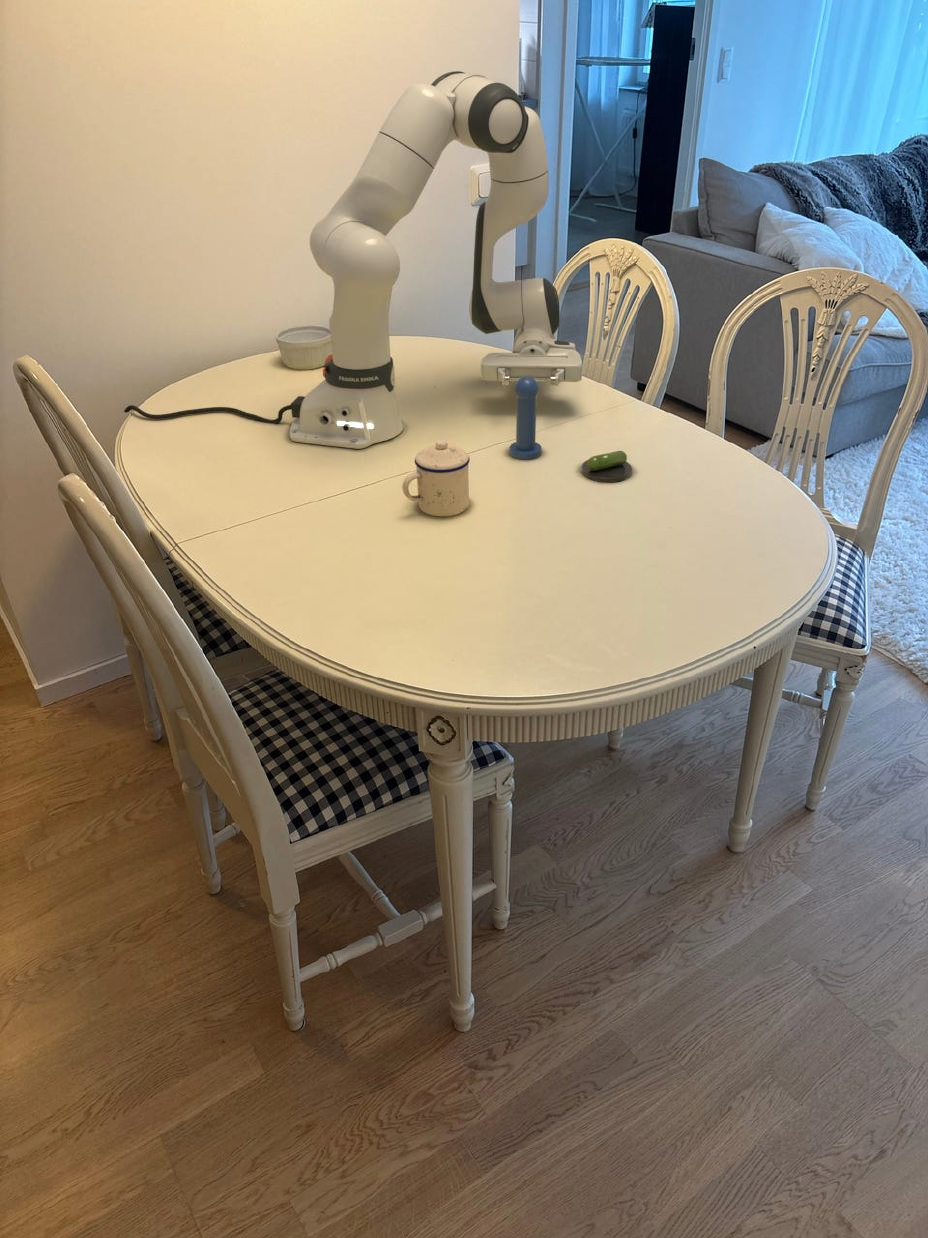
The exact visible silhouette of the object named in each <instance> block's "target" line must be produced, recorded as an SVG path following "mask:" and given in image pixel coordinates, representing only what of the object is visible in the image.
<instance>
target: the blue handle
mask: <svg viewBox="0 0 928 1238" xmlns="http://www.w3.org/2000/svg"><path fill="white" fill-rule="evenodd" d="M539 391H540V385H539V383H538V381H536V380H535V379H533V378H531V377H523V378H521V379H519V380H518V381H516V383H515V385H514V393H515V397H516V417H515V421H516V423H515V427H516V428H515V436H516V437H515V442H512V443H511V444H509V445H510V446H509V455H510V456H511V457H512V458H514V459H518V460H525V461H527V460H529V461H530V460H534V459H537V458H539V457H540V456H541V455H542V450H543V449H542V448H543V447H542V445H541V444H540V443H539V442H536V435H537V434H536V432H537V431H536V427H537V398H538V397H537V396H538V395H539Z"/></svg>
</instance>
